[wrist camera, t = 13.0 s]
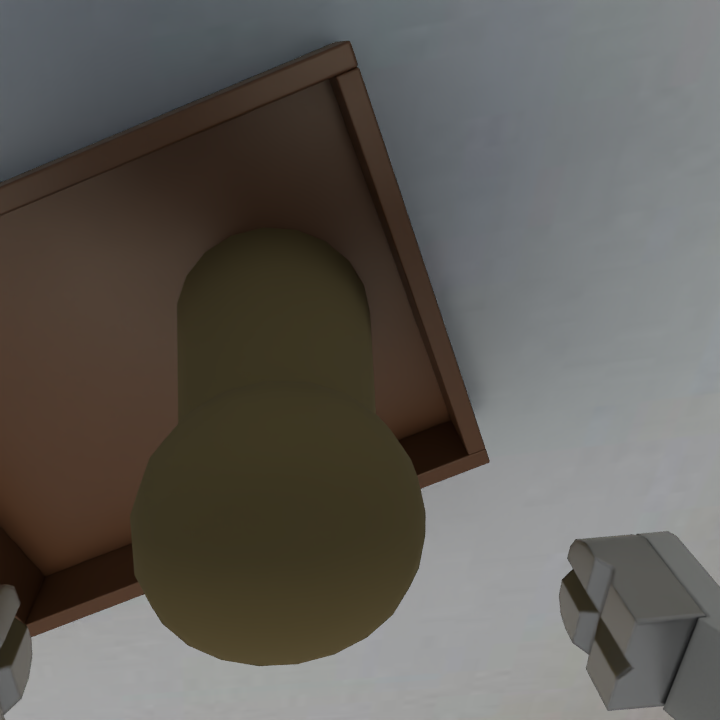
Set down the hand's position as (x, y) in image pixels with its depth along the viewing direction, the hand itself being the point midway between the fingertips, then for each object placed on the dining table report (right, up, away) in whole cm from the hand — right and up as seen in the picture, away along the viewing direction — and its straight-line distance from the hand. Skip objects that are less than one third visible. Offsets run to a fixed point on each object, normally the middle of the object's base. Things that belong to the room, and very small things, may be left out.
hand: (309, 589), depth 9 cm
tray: (-6, +3, +11) cm, 13 cm away
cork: (-2, +5, +10) cm, 12 cm away
